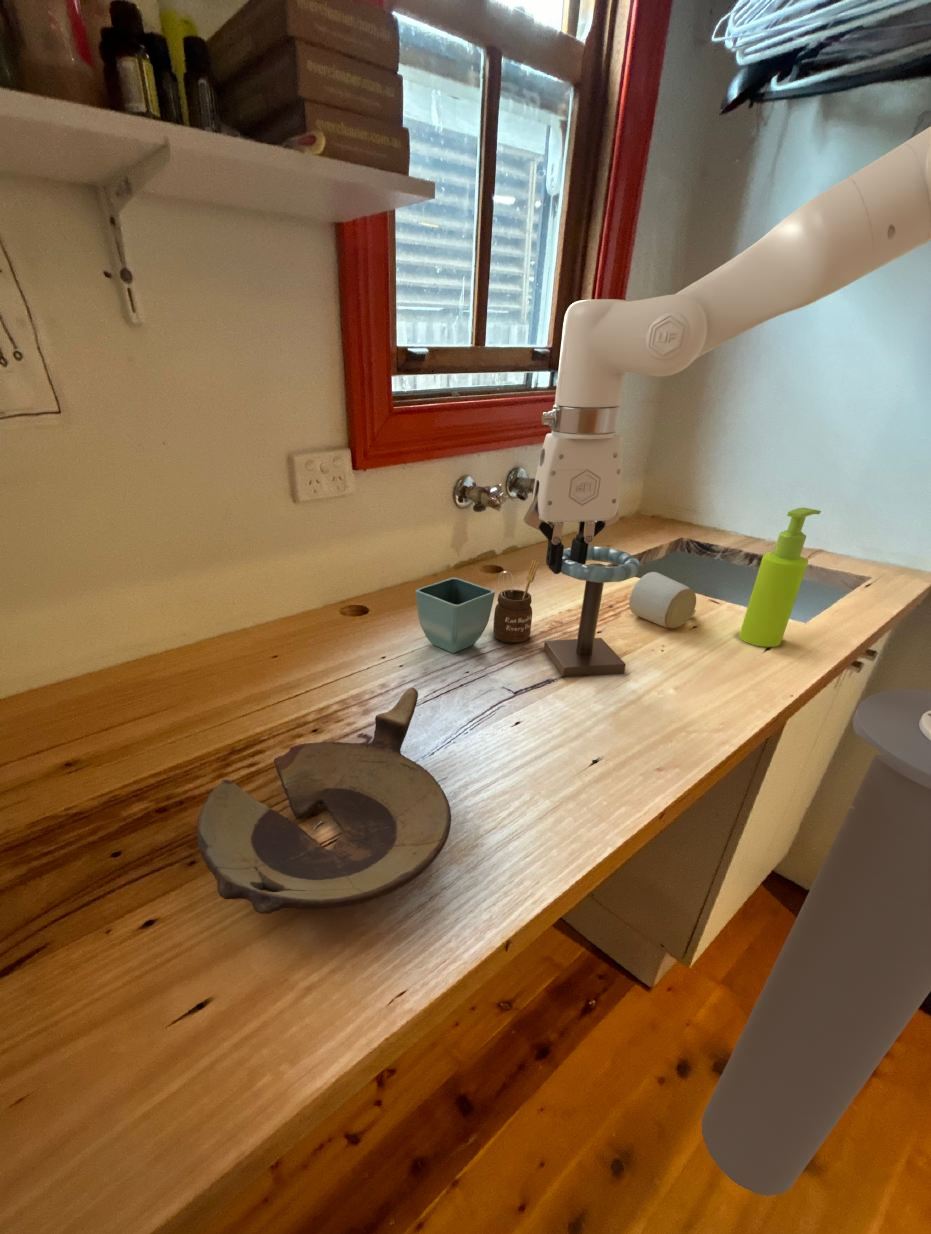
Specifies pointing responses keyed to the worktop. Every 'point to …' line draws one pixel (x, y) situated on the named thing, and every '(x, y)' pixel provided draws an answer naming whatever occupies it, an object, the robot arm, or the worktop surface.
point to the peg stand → (585, 642)
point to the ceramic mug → (662, 600)
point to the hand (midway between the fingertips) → (564, 569)
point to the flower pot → (454, 612)
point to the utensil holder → (514, 612)
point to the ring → (621, 572)
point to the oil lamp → (358, 802)
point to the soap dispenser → (777, 585)
